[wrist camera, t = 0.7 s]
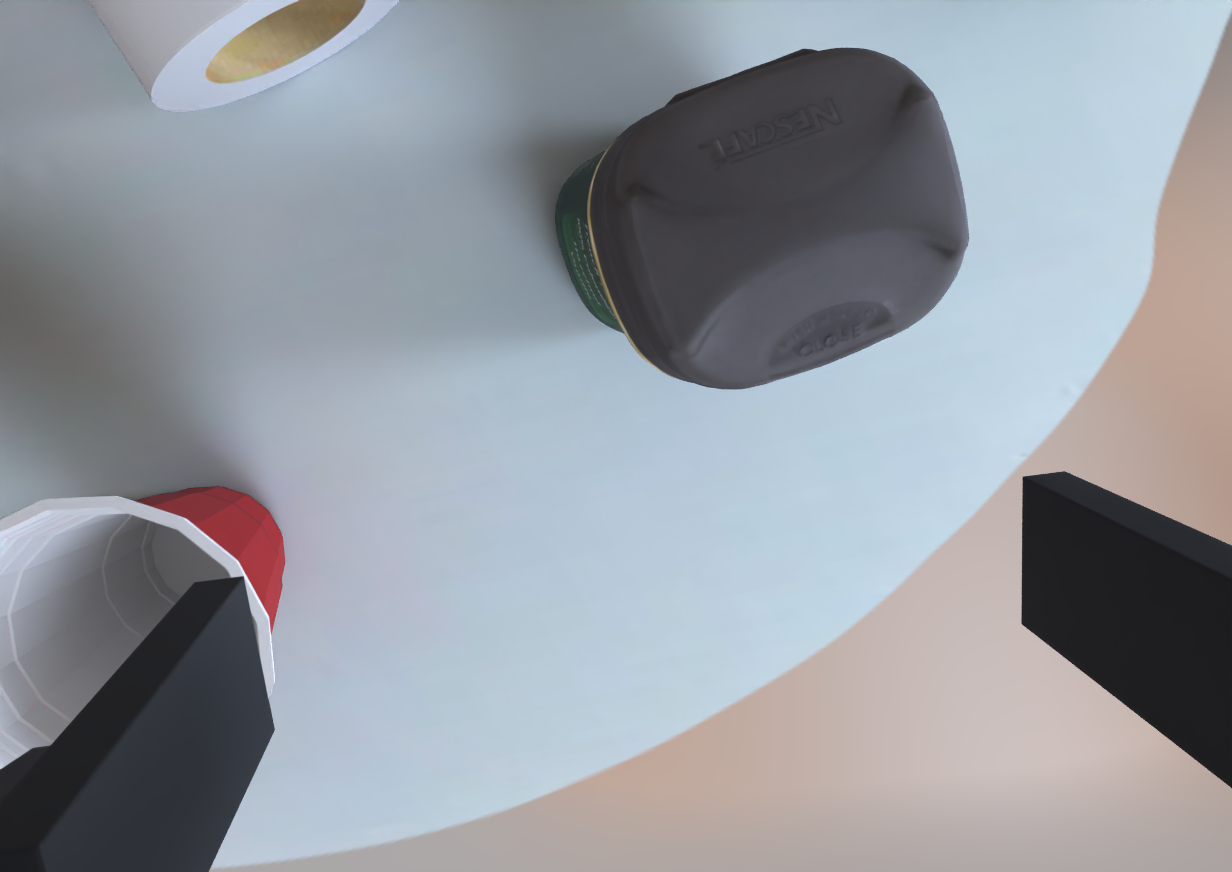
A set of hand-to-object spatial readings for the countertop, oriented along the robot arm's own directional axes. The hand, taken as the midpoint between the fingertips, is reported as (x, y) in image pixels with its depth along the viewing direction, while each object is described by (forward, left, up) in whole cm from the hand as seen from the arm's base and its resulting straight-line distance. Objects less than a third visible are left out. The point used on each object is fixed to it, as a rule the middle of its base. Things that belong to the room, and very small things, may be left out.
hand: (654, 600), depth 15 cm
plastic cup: (+6, -16, -26) cm, 31 cm away
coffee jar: (-6, +5, -26) cm, 27 cm away
